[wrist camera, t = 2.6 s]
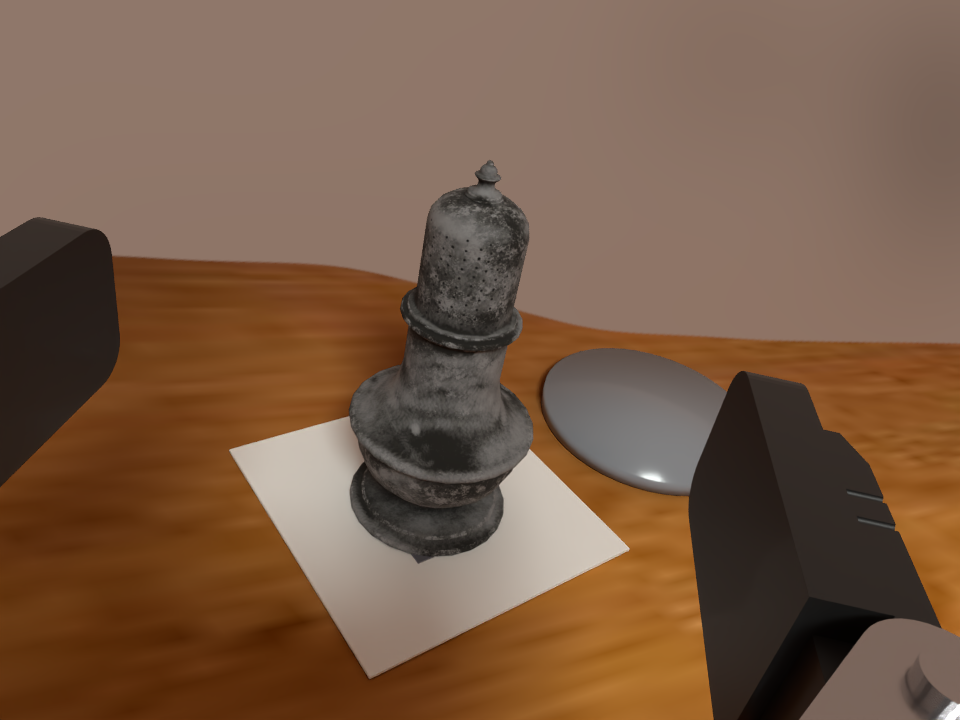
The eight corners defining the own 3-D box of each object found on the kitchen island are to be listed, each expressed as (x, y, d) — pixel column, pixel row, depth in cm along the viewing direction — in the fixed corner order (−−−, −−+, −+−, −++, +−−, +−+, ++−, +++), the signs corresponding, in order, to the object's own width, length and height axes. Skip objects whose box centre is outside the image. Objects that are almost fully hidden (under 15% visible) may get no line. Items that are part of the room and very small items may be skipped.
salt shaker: (451, 424, 30) (512, 117, 24) (546, 526, 27) (648, 197, 20) (310, 467, 27) (335, 124, 20) (396, 590, 23) (460, 221, 17)
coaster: (648, 526, 28) (653, 514, 27) (498, 384, 33) (501, 373, 33) (794, 455, 33) (800, 444, 32) (643, 343, 38) (646, 333, 38)
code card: (369, 679, 21) (369, 675, 21) (229, 451, 27) (229, 448, 27) (629, 550, 26) (630, 547, 26) (463, 386, 33) (464, 383, 33)
